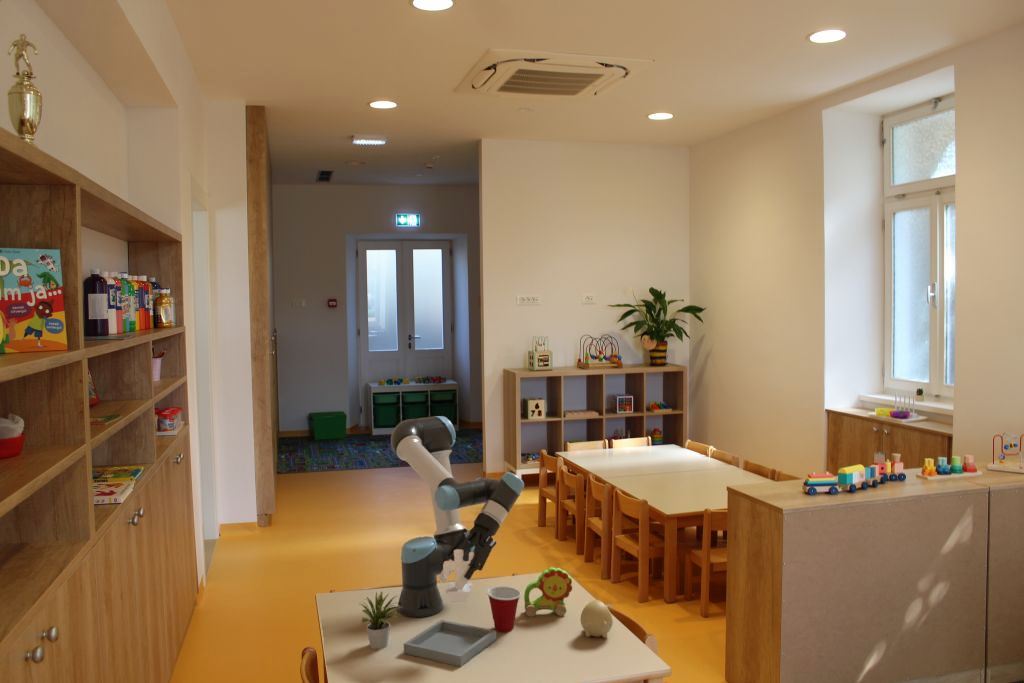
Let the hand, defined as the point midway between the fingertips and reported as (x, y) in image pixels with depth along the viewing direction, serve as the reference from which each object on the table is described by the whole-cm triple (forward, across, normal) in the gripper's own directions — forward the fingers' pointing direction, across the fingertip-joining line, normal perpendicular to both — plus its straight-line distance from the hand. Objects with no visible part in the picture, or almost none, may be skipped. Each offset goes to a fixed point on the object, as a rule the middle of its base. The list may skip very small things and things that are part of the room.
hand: (449, 583), depth 238 cm
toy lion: (-14, 0, -44) cm, 46 cm away
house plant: (+25, +18, -5) cm, 31 cm away
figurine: (+2, 0, -6) cm, 7 cm away
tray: (+13, +3, -16) cm, 21 cm away
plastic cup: (-1, +1, -31) cm, 31 cm away
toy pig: (-13, -23, -42) cm, 50 cm away
